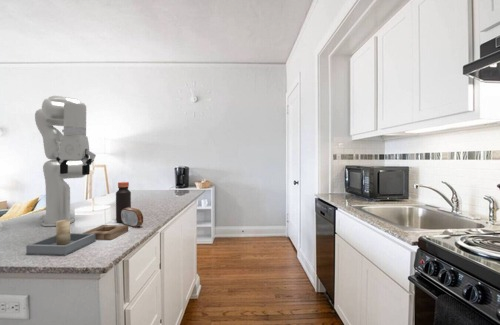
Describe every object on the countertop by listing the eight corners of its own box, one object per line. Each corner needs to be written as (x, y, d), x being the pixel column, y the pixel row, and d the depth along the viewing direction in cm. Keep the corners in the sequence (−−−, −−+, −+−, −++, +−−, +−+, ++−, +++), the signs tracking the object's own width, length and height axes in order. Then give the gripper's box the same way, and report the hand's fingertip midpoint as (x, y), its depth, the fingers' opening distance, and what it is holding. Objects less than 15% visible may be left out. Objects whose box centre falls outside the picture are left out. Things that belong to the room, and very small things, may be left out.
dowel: (53, 247, 86) (53, 222, 86) (62, 243, 90) (62, 219, 90) (64, 248, 86) (63, 222, 86) (73, 244, 90) (72, 219, 90)
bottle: (125, 223, 121) (124, 183, 121) (112, 222, 122) (112, 183, 122) (133, 220, 128) (133, 182, 127) (122, 219, 129) (122, 181, 129)
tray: (26, 254, 81) (26, 245, 81) (61, 240, 95) (61, 232, 95) (65, 255, 80) (65, 246, 80) (95, 241, 94) (95, 233, 94)
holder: (82, 239, 97) (82, 232, 97) (102, 230, 109) (102, 224, 109) (111, 239, 96) (111, 233, 96) (128, 231, 108) (128, 225, 108)
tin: (143, 227, 114) (143, 209, 114) (137, 228, 112) (137, 210, 112) (125, 222, 123) (125, 206, 122) (119, 224, 120) (119, 207, 120)
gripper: (47, 131, 97) (47, 174, 97) (87, 132, 95) (87, 176, 96) (63, 132, 104) (63, 172, 105) (101, 133, 102) (101, 174, 103)
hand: (74, 174), depth 100 cm, fingers open, 9 cm apart
